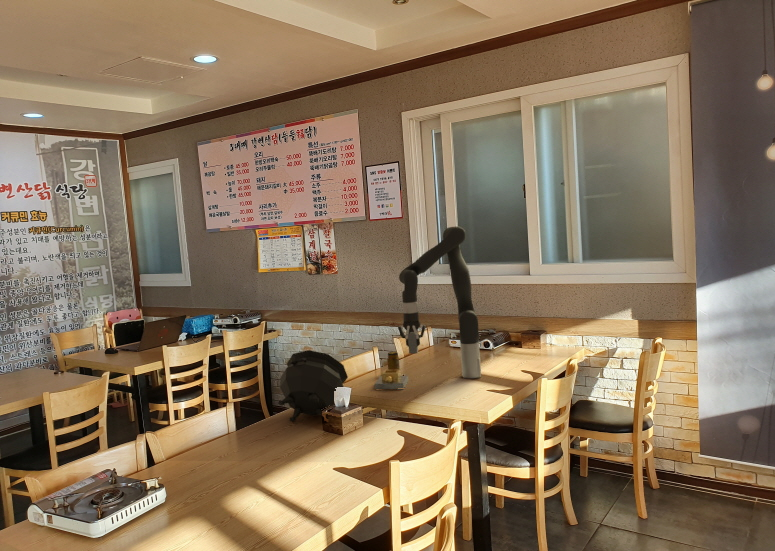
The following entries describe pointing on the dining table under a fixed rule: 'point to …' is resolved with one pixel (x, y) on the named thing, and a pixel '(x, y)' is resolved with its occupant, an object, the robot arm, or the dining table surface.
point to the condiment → (393, 361)
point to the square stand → (391, 380)
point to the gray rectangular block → (412, 343)
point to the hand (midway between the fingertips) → (413, 346)
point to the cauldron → (311, 382)
